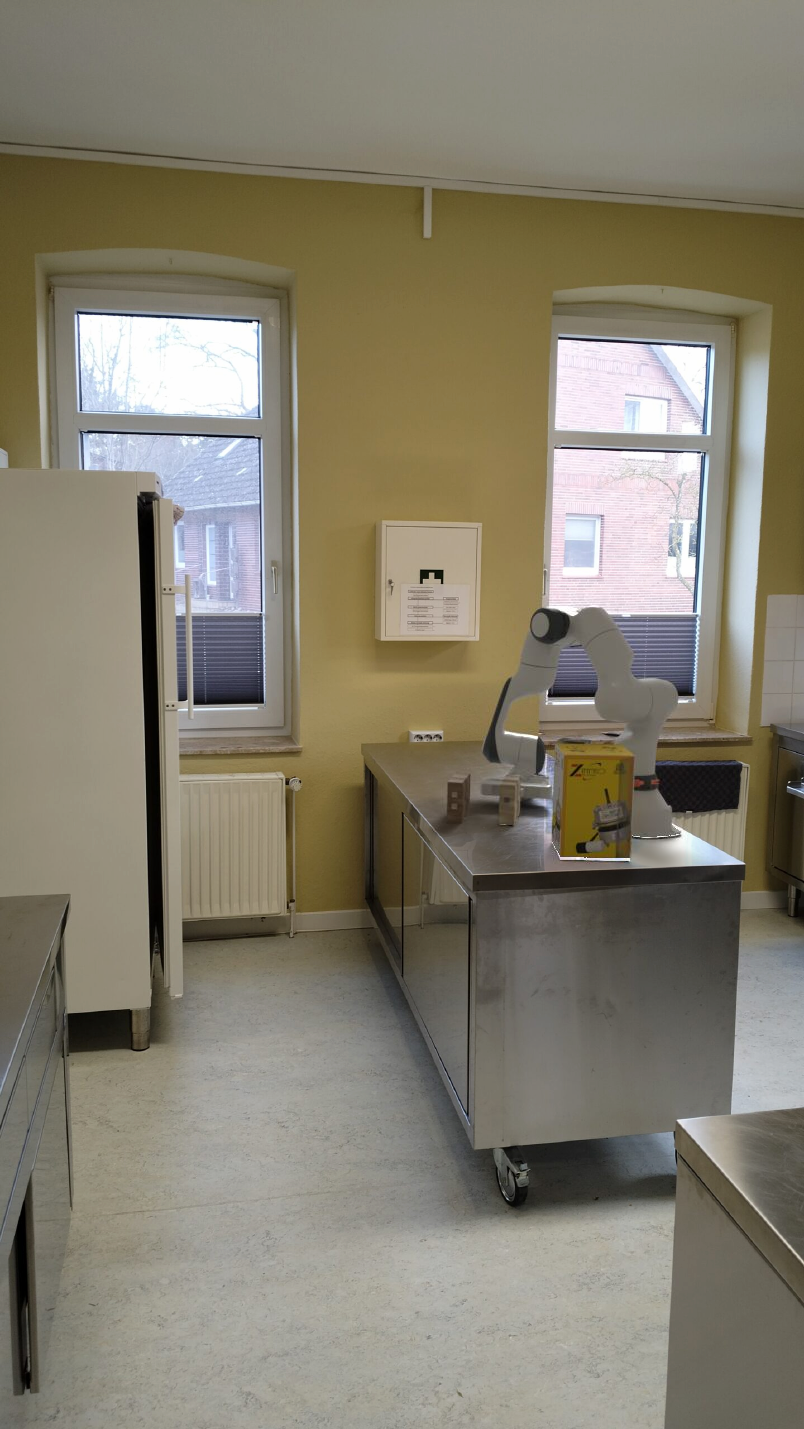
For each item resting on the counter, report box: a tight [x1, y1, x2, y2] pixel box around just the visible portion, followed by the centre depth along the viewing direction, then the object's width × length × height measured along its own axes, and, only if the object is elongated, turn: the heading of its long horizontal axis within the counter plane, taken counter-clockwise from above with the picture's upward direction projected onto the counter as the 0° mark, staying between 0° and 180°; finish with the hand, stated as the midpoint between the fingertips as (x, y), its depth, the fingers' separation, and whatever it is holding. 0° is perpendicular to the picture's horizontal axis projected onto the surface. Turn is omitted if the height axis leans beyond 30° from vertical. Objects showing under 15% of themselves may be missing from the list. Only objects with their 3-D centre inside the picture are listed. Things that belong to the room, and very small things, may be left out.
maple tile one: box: [498, 774, 521, 826], centre depth 272 cm, size 14×4×11 cm, turn 167°
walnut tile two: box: [446, 771, 471, 824], centre depth 275 cm, size 14×4×11 cm, turn 167°
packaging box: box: [550, 743, 635, 858], centre depth 240 cm, size 16×16×25 cm
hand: (513, 794), depth 279 cm, fingers closed, pressing on maple tile one
